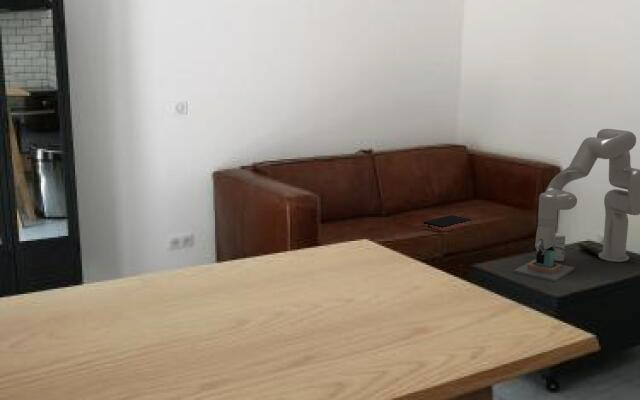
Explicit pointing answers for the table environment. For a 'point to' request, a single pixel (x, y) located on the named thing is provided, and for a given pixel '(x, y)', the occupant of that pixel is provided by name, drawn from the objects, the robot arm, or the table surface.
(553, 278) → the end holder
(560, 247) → the ink box
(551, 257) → the block
